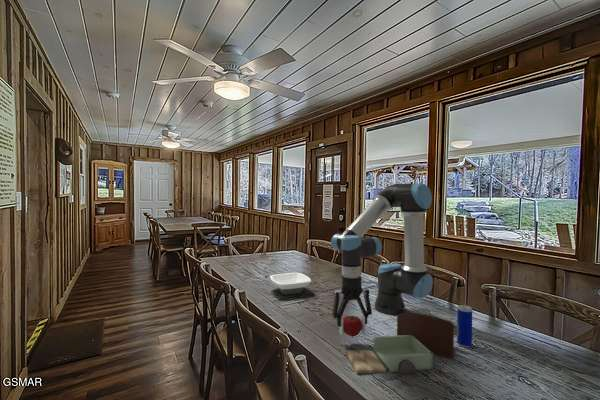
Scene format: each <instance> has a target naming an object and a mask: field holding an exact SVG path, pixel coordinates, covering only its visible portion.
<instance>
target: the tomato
mask: <svg viewBox="0 0 600 400" xmlns="http://www.w3.org/2000/svg"><path fill="white" fill-rule="evenodd" d="M342 318H343V333H345V334H346V336H350V337H356V336H358V335H359V334H360V332H362V331H361V329H362V322H361V317H359V316H357V315H356V316H355V315H346V316H344V317H342Z"/></svg>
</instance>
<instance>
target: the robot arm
mask: <svg viewBox="0 0 600 400" xmlns="http://www.w3.org/2000/svg"><path fill="white" fill-rule="evenodd" d="M432 202H433V195H432V192H431V189H430V188H429V186H428V185H427V184H425V183H421V182H413V183H410V182H409V183H393V184H390V185H389V186H386V187H385V188H383V189H382V190H381V191H379V192H378V193H376V195H375V196H374V197H373V199H372V202H371V203H370V204H369V205H368V206H367V207H366V208H365V209H364V210H363V211H362V213H361V214H359V215H358V216H357V218H356V219H354V221H353V222H352V223H350V225H349V226H348V227H347V228H346V229H345V230H344V231H343V232H342V233H335V234H334V235H333V236H332V237H331V240H330V245H331V247H332V249H333V250H335V251H338V252H341V275H342V276H341V288H340V290H334V292H333V294H334V299H333V300H334V301H333V307H332V312H331V315H332V316H333V318H336V325H337V326H338V328H339V334H340V336H341V337H343V336H344V331H343V318H344V317H343V315H344V313H345V310H346V307H347V305H348V303H349V301H353V300H354V301H356V302H357V304H358V306H359V308H360V311H361V314H360V320H361V322H362V329H361V331H360V332H361V333H362V334H366V325H367V324H368V318H369V316H371V315H372V314H373V311H372V306H371V301H370V290H369V289H368V288H366V287H365V288H362V259H365V258H370V257H375V256H376V255H377V256H378V255H379V254H380V253H381V252H382V249H383V245H382V244H383V243H382V242H381V240H380V239H379V238H377V237H375V236H372V237H371V236H369V237H364V236H365V234H366V233H367V232H368V231H369V230H370V229H371V228H372V227H373V225H375V224H376V222H377V221H378V220H379V219H380V218H381V217H382V216H383V214H384V213H386V212H389V211H390V210H391V209H392V208H400V213H401V214H402V215H403V232H404V233H403V237H404V238H403V239H404V240H403V241H404V242H403V244H404V245H403V246H404V264H403V265H402V264H400V263H383V264H381V265H379V267H378V271H377V285H378V286H377V289H378V290H377V296H376V299H375V300H374V309H375V310H376V311H377V312H379V313H382V314H387V315H398V314H399V313H406V312H405V311H406V305H405V302H404V299H403V296H402V294H405V295H409V296H411V297H414V298H418V299H425V298H427V296H428V295H430V294H431V290H432V289H433V284H434V280H433V279H434V278H433V276H432V275H431V274H430V273H428V268H427V267H426V266H425V261H424V260H425V257H424V256H425V255H424V254H425V249H424V241H425V239H424V215H425V214H427V211H428V210H427V209H429V208H431V205H432ZM361 294H363V298H364V303H365V304H363V302H362V299H361ZM341 295H343V297H342V299H341V303H340V298H341ZM339 304H340V305H339ZM364 305H365V306H364Z"/></svg>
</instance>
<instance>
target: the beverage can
mask: <svg viewBox="0 0 600 400" xmlns="http://www.w3.org/2000/svg"><path fill="white" fill-rule="evenodd" d="M456 314H457V316H456V325H457V326H456V327H457V328H456V342H457V344H458V345H459V346H460V347H463V348H470V347H472V345H473V309H472V306H469V305H465V304H458V305H457V312H456Z"/></svg>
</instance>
